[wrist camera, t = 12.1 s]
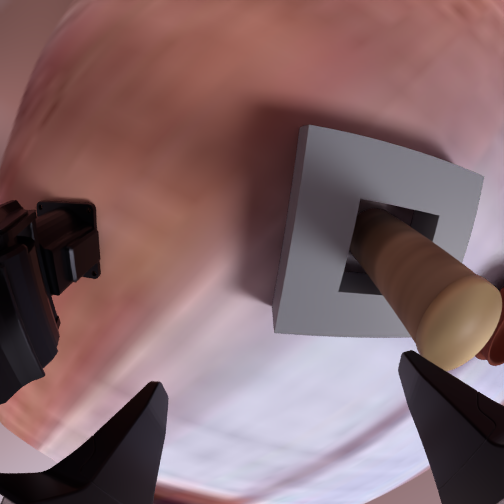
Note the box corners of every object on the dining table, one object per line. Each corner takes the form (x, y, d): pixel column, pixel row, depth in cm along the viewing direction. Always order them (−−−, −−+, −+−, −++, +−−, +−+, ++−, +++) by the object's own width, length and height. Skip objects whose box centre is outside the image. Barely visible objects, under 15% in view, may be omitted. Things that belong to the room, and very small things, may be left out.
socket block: (271, 306, 23) (274, 332, 20) (299, 127, 18) (308, 124, 15) (415, 315, 24) (431, 336, 21) (458, 169, 19) (484, 176, 15)
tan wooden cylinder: (334, 249, 21) (404, 362, 10) (364, 196, 20) (471, 267, 8) (379, 271, 22) (458, 377, 10) (407, 223, 21) (513, 303, 9)
